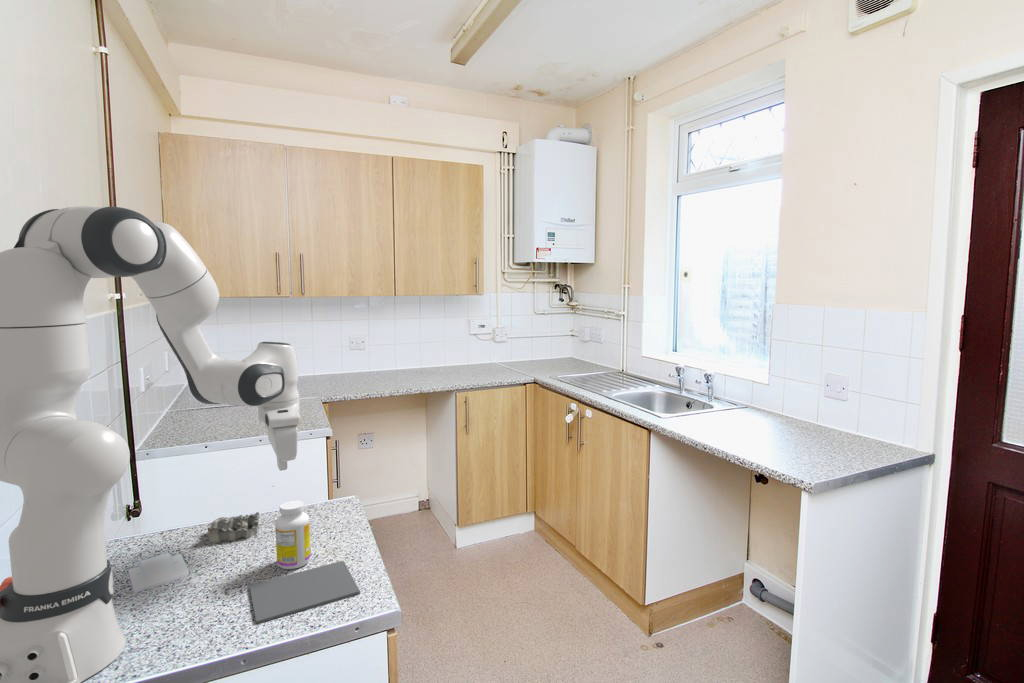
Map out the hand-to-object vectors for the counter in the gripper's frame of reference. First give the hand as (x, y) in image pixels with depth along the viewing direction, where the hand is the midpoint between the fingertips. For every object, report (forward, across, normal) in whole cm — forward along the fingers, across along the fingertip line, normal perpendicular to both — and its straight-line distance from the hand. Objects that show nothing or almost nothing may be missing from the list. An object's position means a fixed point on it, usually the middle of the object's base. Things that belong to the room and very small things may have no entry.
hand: (282, 468), depth 123 cm
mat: (+16, +27, 0) cm, 31 cm away
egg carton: (+17, -6, -10) cm, 21 cm away
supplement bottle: (+16, +15, 0) cm, 22 cm away
